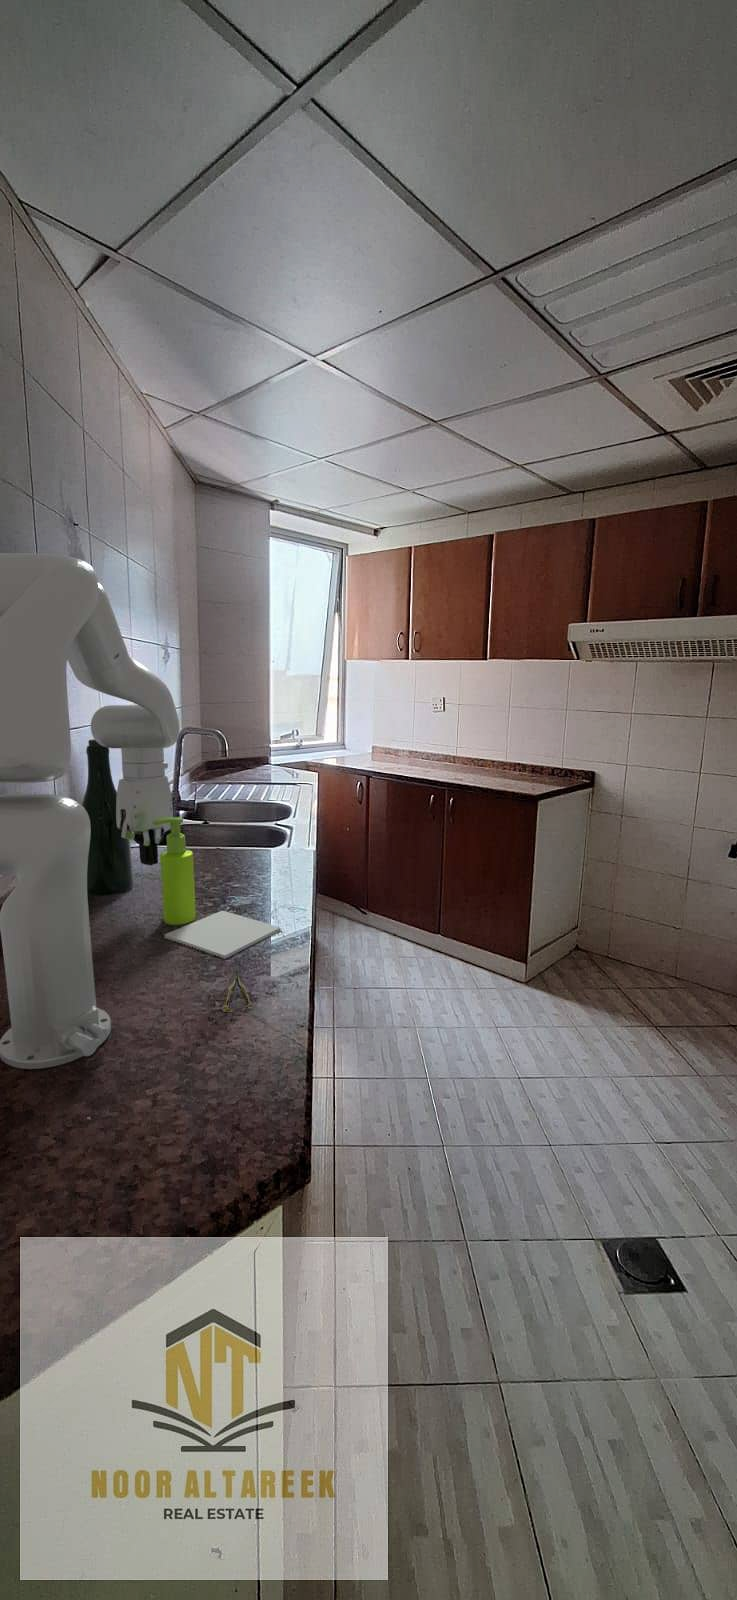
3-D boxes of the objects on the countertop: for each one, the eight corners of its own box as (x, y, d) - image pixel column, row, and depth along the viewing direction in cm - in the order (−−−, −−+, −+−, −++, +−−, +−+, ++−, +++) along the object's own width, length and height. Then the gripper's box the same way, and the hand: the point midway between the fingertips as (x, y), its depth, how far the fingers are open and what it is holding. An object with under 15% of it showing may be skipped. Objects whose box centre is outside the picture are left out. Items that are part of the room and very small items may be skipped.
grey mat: (280, 930, 110) (280, 927, 110) (224, 958, 98) (224, 955, 98) (222, 913, 118) (222, 910, 118) (164, 937, 106) (164, 934, 106)
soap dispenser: (156, 916, 116) (150, 816, 112) (193, 911, 119) (188, 813, 115) (159, 927, 110) (153, 823, 107) (198, 921, 113) (193, 819, 110)
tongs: (243, 973, 95) (243, 961, 95) (254, 1018, 83) (253, 1005, 83) (216, 976, 94) (216, 965, 93) (223, 1023, 82) (223, 1010, 81)
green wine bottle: (136, 880, 137) (126, 736, 131) (130, 895, 127) (120, 741, 121) (86, 883, 134) (75, 737, 128) (77, 899, 124) (63, 742, 118)
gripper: (162, 765, 121) (167, 852, 125) (96, 773, 109) (103, 869, 112) (188, 768, 117) (192, 857, 121) (122, 777, 105) (128, 876, 108)
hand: (149, 863), depth 116 cm, fingers closed
